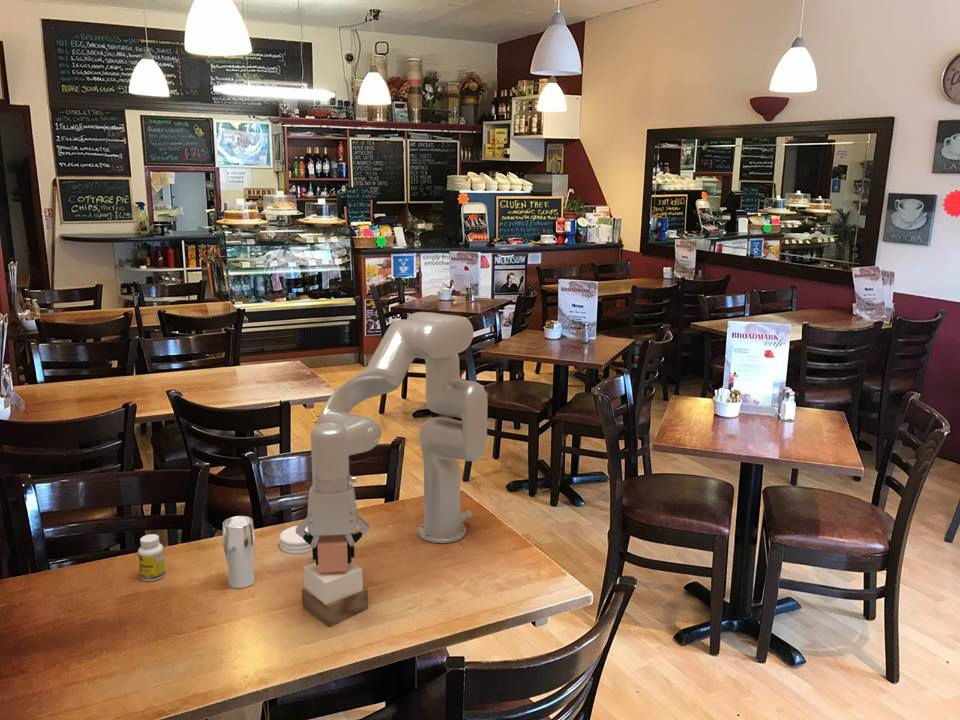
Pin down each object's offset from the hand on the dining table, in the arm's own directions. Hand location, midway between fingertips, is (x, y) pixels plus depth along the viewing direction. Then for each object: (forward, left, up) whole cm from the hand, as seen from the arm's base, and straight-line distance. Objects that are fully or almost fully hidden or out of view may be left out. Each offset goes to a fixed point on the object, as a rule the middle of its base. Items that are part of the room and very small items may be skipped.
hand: (333, 560), depth 164 cm
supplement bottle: (+21, -42, -12) cm, 48 cm away
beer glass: (+8, -25, -12) cm, 29 cm away
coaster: (-12, -31, -12) cm, 35 cm away
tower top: (0, 0, -7) cm, 7 cm away
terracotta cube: (0, 0, -1) cm, 1 cm away
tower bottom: (0, 0, -12) cm, 12 cm away
